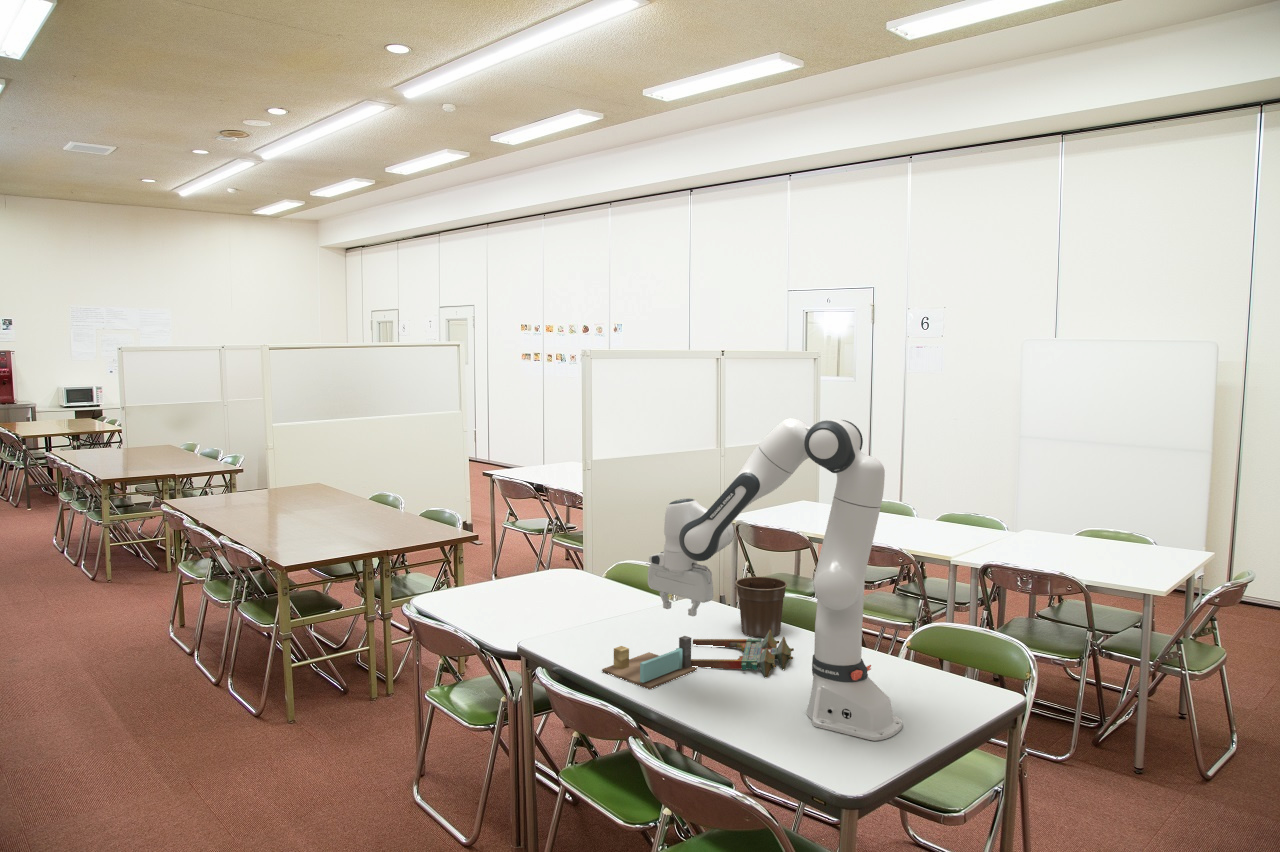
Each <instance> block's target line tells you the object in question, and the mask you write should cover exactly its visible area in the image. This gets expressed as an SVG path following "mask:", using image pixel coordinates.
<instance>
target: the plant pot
mask: <svg viewBox="0 0 1280 852" xmlns="http://www.w3.org/2000/svg"><path fill="white" fill-rule="evenodd" d="M735 586H736V590H737V596H738V600H739V601H738V602H739V614H740V625H741V627H740V628H741V633H742V632H743V634H744V635H745V634H747V635H749V636H748V637H751V636H753V637H752V638H758V637H761V639H765V637H766V635H767V633H768V632H769V630H771V633H772V636H775V637H777V636H779V635H780V634H781V631H782V630H781V629H782V617H783V607H784V598H785V595H786V587H787V586H788V583H787V582H786V581H785V580H784V579H780V578H776V577H771V576H770V577H769V576H747V577H746V576H745V577H742V578H739V579H736V580H735ZM747 635H746V636H747Z"/></svg>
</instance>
